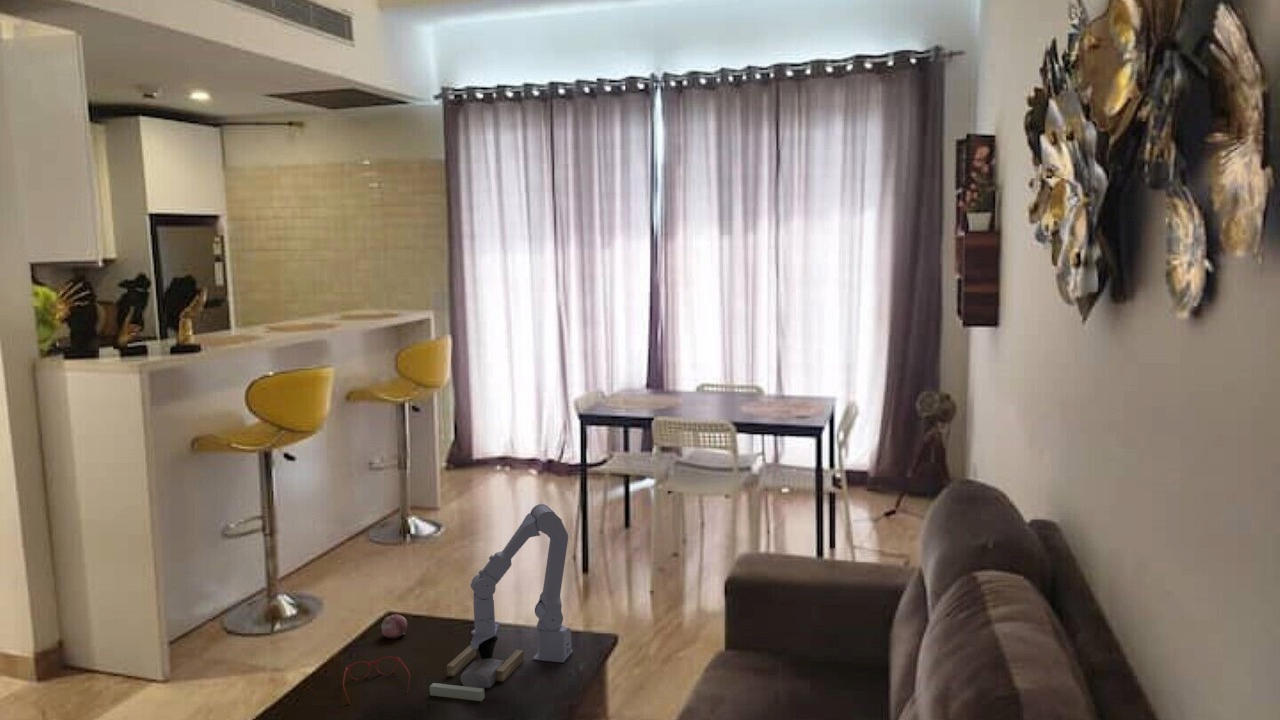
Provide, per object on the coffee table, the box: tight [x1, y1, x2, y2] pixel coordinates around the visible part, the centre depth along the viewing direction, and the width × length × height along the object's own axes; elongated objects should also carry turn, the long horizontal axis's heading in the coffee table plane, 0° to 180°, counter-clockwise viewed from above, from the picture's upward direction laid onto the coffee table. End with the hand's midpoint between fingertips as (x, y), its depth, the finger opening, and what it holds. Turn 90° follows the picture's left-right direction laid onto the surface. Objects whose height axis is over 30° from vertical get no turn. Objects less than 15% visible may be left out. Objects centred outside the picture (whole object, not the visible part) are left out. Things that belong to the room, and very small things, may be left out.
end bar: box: [429, 682, 486, 702], centre depth 246 cm, size 15×2×2 cm, turn 74°
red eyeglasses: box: [342, 656, 411, 706], centre depth 253 cm, size 17×16×5 cm
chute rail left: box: [446, 644, 478, 677], centre depth 265 cm, size 2×14×3 cm, turn 164°
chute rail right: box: [496, 649, 525, 683], centre depth 261 cm, size 2×14×3 cm, turn 164°
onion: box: [380, 614, 408, 640], centre depth 287 cm, size 8×8×7 cm
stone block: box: [460, 658, 505, 689], centre depth 256 cm, size 12×5×10 cm
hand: (486, 662), depth 263 cm, fingers closed
